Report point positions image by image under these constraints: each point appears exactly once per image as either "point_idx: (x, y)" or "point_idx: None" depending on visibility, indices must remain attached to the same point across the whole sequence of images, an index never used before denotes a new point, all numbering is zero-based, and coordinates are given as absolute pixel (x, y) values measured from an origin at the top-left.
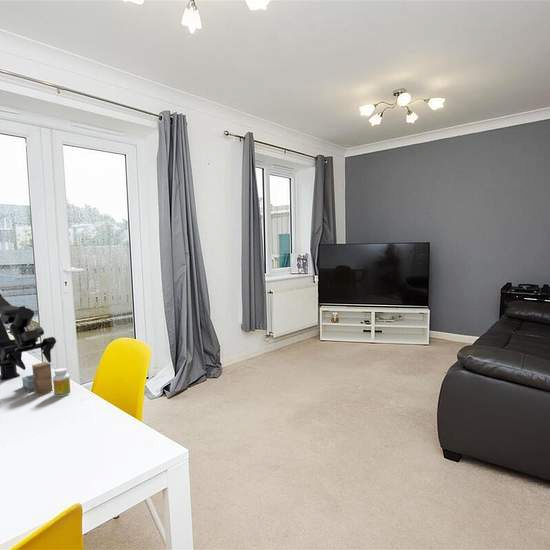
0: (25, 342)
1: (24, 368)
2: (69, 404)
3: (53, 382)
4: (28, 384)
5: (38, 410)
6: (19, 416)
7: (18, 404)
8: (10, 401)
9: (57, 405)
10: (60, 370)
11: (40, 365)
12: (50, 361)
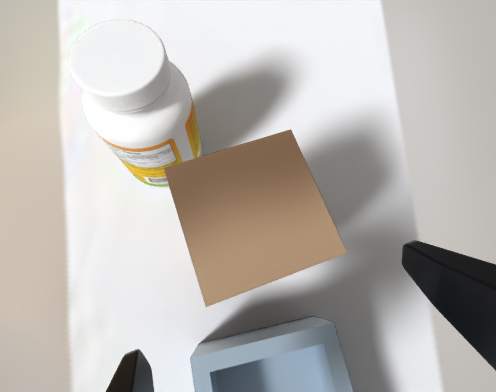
0: None
1: (415, 241)
2: (169, 30)
3: (193, 115)
4: (325, 320)
5: (279, 49)
6: (341, 41)
7: (353, 159)
8: (391, 222)
9: (210, 49)
10: (124, 38)
11: (264, 182)
12: (132, 351)
